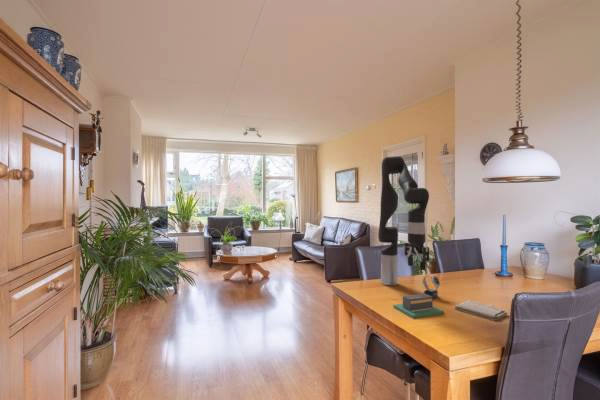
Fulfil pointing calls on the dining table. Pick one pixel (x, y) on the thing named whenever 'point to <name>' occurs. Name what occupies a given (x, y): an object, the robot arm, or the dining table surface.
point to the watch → (430, 291)
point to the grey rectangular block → (417, 302)
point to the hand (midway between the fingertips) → (416, 267)
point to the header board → (419, 311)
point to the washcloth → (481, 310)
